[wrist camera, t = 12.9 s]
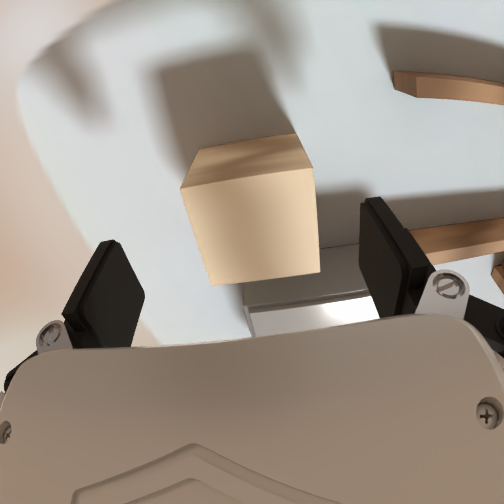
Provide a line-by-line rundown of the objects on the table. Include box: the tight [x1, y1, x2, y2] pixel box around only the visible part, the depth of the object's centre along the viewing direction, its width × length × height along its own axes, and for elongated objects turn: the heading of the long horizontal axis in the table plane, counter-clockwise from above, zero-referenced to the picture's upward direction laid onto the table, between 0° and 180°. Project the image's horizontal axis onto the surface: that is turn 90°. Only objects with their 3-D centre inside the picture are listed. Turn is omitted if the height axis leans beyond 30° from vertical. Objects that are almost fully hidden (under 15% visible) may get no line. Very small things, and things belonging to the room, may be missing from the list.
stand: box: [243, 244, 379, 337], centre depth 20 cm, size 9×9×4 cm
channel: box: [393, 71, 504, 294], centre depth 15 cm, size 18×16×2 cm
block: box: [180, 133, 320, 286], centre depth 15 cm, size 5×5×5 cm
